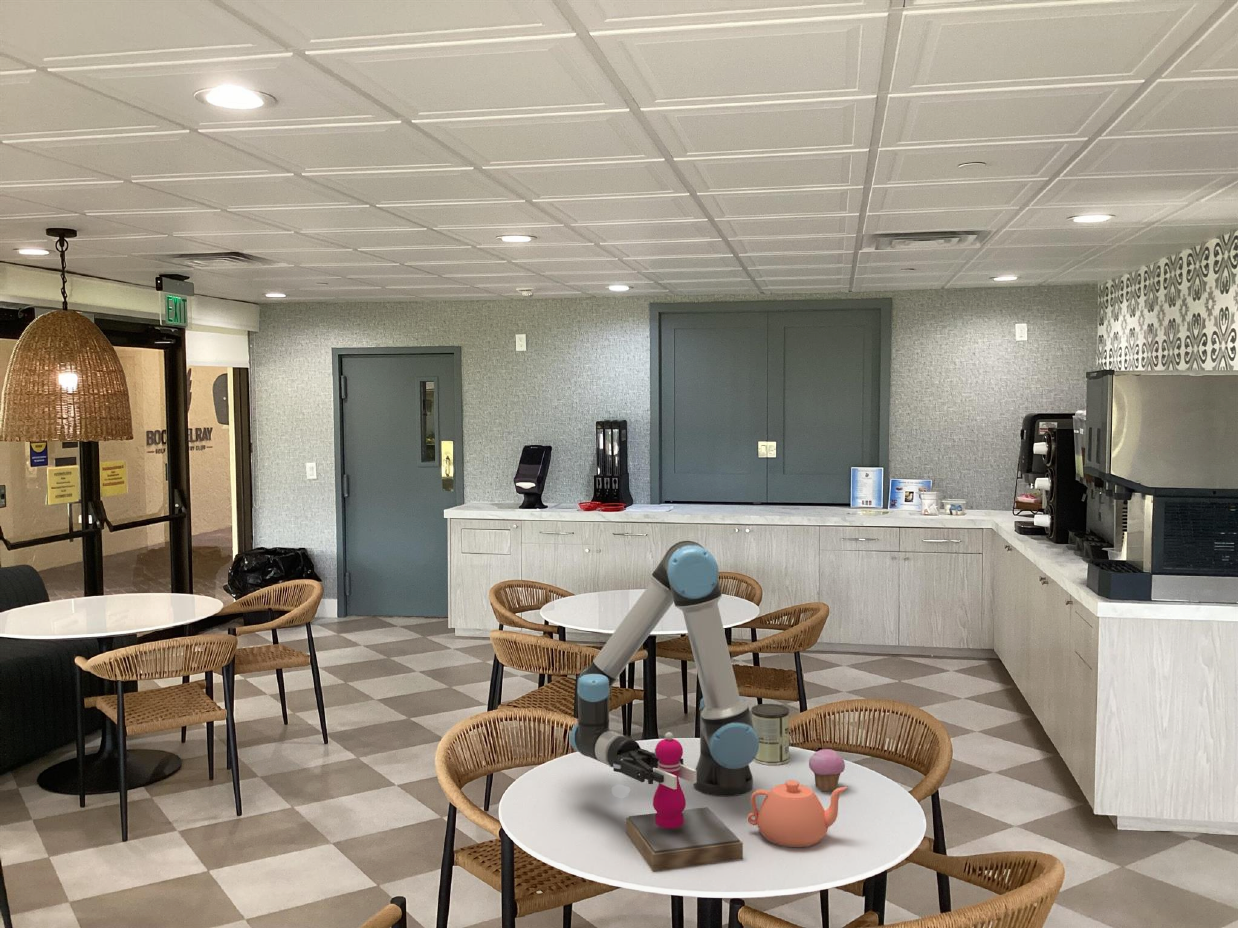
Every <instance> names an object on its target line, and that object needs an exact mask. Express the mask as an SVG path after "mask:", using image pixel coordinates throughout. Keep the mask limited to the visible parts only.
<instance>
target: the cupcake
mask: <svg viewBox="0 0 1238 928" xmlns="http://www.w3.org/2000/svg"><path fill="white" fill-rule="evenodd" d="M845 763H846V762H845V760H844V758H843V757H842V756H841V755H840V754H838V752H837V751H835V750H833V749H829V748H828V749H827V748H825V749H819V750H818V751H816V752H814V753H813V755H811V756H810V757H809V759H808V767H809V769H810V770H811V771H812V772H813V775H814V783H815V787H816V788H817V789H818V790H820V791H821V792H827V791H831V792H833V791H834V790H835V789H837V787H838V784H839V781H840V777H841V774H842V773H844V771H845V767H846V765H845Z"/></svg>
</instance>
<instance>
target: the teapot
mask: <svg viewBox="0 0 1238 928" xmlns="http://www.w3.org/2000/svg"><path fill="white" fill-rule="evenodd" d="M847 788H848V786H841V787H838V788H836V789H835V790H834V791H832V793H831V796H830V803H829V806H828V808H827V809H826V810H825V809H824V807H823V804H822V802H821V801H820V799H819V798H818V796H817V794H816V792H815V791H814V790H812V789H811V788H810V787H808V786H806V785H803V784H800V782H799V781H798V780H793V779H792V780H790V779H789V780H786V781H785V783H781V784H777V785H774V786H773V787H772V788H771V789H770V790H766V789H763V788H761V789H757V790H755V791H754V792H753V793H751V796H750V805H751V809H752V812H750V813H749V814H748V815H747V822H748V824H750V825H751V826H757V828H758V830H759V832H760V833H761V834H762V836H763V837H764V838H766V840H768V841H769V842H770V843H773V844H776V845H779V846H782V847H783V846H784V847H789V848H805V847H809V846H814V845H816V844H818V843H819V842H820V841H821V840H822V839H823V838H824V837H825V836H826V835H827V833H828V829H829V828H830V827H831V826H833V824H834V823H835V822H836V821H837V817H838V814H839V812H838V811H839V800H840V797H841V794H842V793H843V792H844V791H845V790H846V789H847ZM759 795H762V796H765V798H764V800H763V801H762V803H761V805H760V807H759V810H758V807H757V802H756V798H757V796H759ZM752 817H754V819H752Z"/></svg>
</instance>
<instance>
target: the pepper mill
mask: <svg viewBox="0 0 1238 928" xmlns="http://www.w3.org/2000/svg"><path fill="white" fill-rule="evenodd" d="M655 748H656V749H655ZM655 748H654V751H655V753H656V757H657V758H658V759H659V761H658V769H660V770H663V771H666V772H668V773H670V774H673V775H675V776H677V789H672V788H669V787H667V786H665V785H663V784H660V783H658V785H657V788H656V790H655V792H654V795H653V797H652V798H653V799H652V807H653V808H654V810H655V811H656V812H655V813H656V814H655V823H656V825H658V826H660V827H663V828H677V827H680V826H682V825H683V823H684V815H683V813H681V812H682V811H683V810H686V805H687V803H686V796H685V793H684V790H683V789H682V786H681V784H680V783H681V782H680V780H679V779H680V777H678V772H679V769H680V768H681V766H680V764H681V762H680V761H679V760H680V759H681V758H682V757H683V755H684V749H683V746H682V743H680V741H678V740H676V739H675V738H674V734H673V732H670V731H668V732H666V733H665V734H664V738H663V739H661V740H660V741H658V742H657V744H656V746H655Z"/></svg>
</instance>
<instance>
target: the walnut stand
mask: <svg viewBox="0 0 1238 928" xmlns="http://www.w3.org/2000/svg"><path fill="white" fill-rule="evenodd" d="M656 813H657V812H654V813H646V814H645V813H644V814H638V815H630V816H629V815H628V817H626V818H625V834H626V835H627V836H628V838H629V840H630V841H631V842H632V843H633V845H634V846H635V848H636V849H637V851H638V852H639V854H640V855H641V856H642V857H643V859H644V860H645V862H646V863H647V865H648V866H649V868H650V869H651V870H652V871H653V872H657V871H658V870H659V871H665V870H671V869H680V868H688V867H694V866H695V867H696V866H702V865H708V864H716V863H723V862H731V861H738V860H739V861H740V860H743V856H744V853H743V852H744V846H743V845H744V842H743V841H742V840H741V839H740V838H739V837H738V836H737V835H736V834H735V833H734V832H733V831H732V830H731V829H730V828H729V826H727V825H726V824H725V823H724V822H723V821H722V820H721V819H720V818H719V817H718V815H716V814H715V813H714V812H713V811H712V810H711V809H710V807H708V806H705V807H695V808H688V809H686V808H685V809H684V810H683V811H682V812H681V813H683V815H684V823H683V825H682V826H680V827H677V828H663V827H660V826H658V825H656V823H655V814H656ZM659 871H658V872H659Z"/></svg>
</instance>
